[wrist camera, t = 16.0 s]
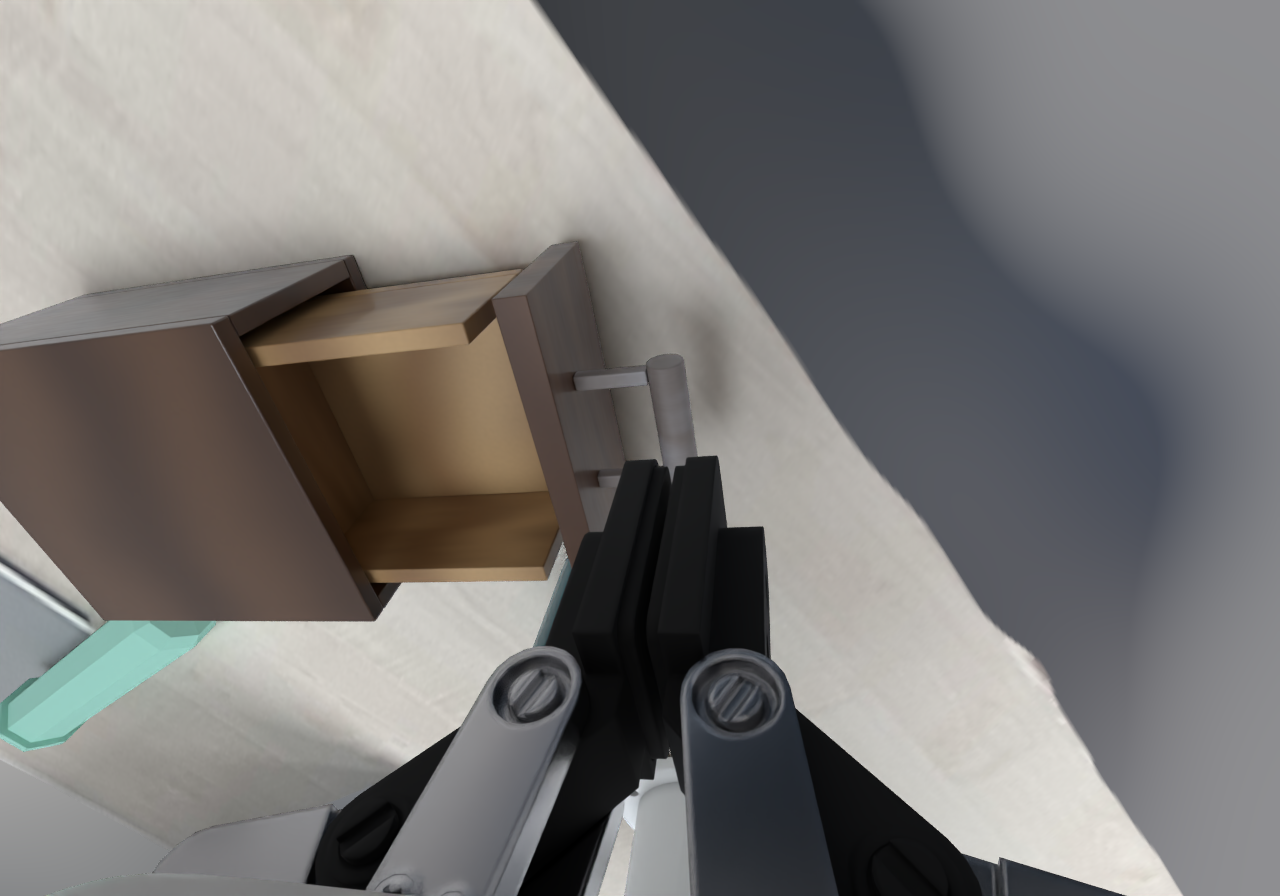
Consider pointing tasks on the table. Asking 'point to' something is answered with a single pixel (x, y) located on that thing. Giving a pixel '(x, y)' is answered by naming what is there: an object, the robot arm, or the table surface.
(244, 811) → the table surface
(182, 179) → the table surface
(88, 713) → the container
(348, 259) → the cabinet
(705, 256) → the table surface
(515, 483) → the drawer
